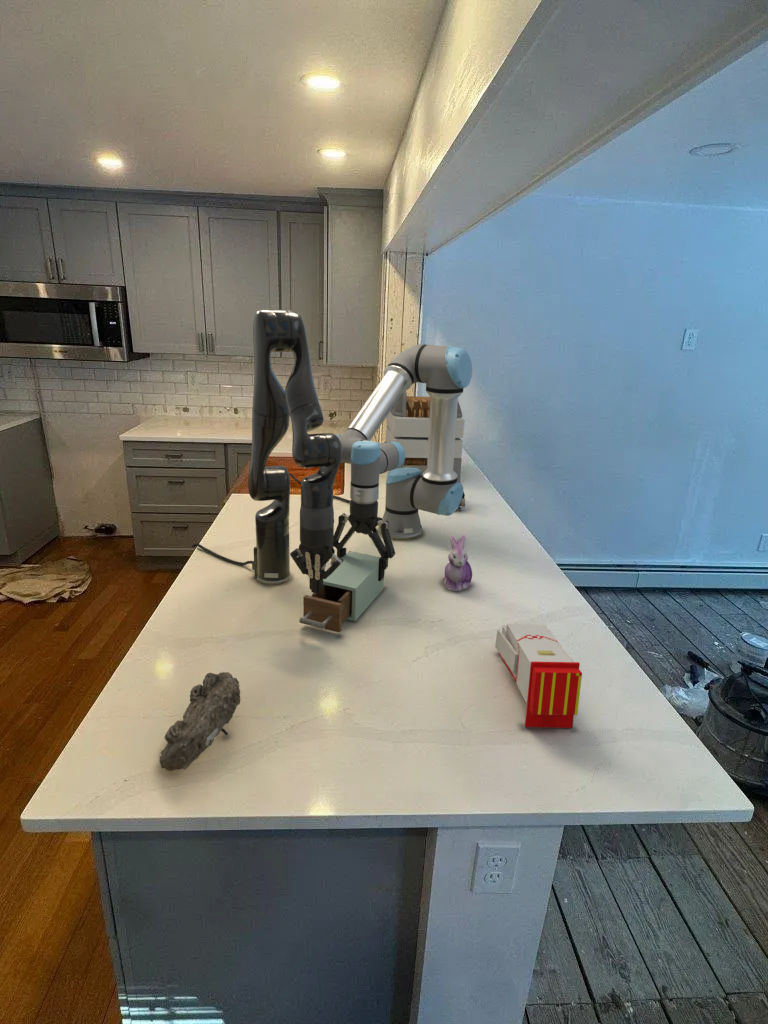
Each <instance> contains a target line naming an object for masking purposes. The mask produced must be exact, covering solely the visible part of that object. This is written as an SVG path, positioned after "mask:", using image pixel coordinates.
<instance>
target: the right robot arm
mask: <svg viewBox="0 0 768 1024" xmlns="http://www.w3.org/2000/svg"><path fill="white" fill-rule="evenodd" d="M472 363H473V362H472V359H471V356H470V355H469V352H468V351H467V350H466V349H465V348H462V347H458V346H453V345H436V344H426V343H425V344H424V343H419V344H415V345H412V346H409V347H407V348H406V349H404V350H403V351H400V352H399V353H398V354H397V355H396V356H394V358H392V359H391V361H390V362H389V363H388V364H387V366H386V367H385V368H384V370H383V376H382V379H381V380H380V381H379V382H378V384H377V386H376V387H375V388H374V390H372V392H371V394H370V395H369V397H368V399H367V400H366V401H365V402H364V404H363V405H362V407H361V408H360V409H359V411H358V413H357V414H356V415H355V417H354V418H353V420H352V421H351V422H350V424H349V425H348V426H347V428H346V429H345V431H344V432H343V433H342V434H336V435H337V436H338V438H339V439H340V441H341V444H342V458H341V462H340V464H341V463H342V464H349V465H350V487H349V488H350V489H349V490H350V491H349V498H350V500H349V499H347V498H345V497H342V496H341V497H340V496H338V495H335V494H333V499H336V500H340V501H342V502H345V503H348V504H349V515H348V514H346V513H345V512H344V513H342V514H340V515H339V516H338V520H337V521H338V523H337V525H336V528H335V531H334V539H333V548H334V549H336V556H337V557H338V558H342V557H343V556H344V555H345V554H347V547H345V546H346V544H347V543H348V541H349V540H351V538H352V536H353V535H354V533H355V532H356V534H363V535H367V536H368V537H369V539H371V541H372V543H373V544H374V546H375V548H376V550H377V552H378V554H379V555H380V556H379V557H380V558H379V571H378V581H381V580H382V579H383V578H384V579H385V575H384V571H385V572H386V570H387V569H388V567H389V559H392V558H394V556H395V555H396V550H395V547H394V544H393V540H395V541H410V540H415V539H418V538H420V537H421V536H422V535H423V525H422V524H421V518H420V515H419V510H420V511H423V512H426V513H431V514H435V515H437V516H445V517H450V516H452V515H453V514H454V513H456V511H457V509H458V506H459V504H460V502H461V499H462V496H463V491H464V485H463V484H462V483H461V481H460V482H457V474H456V473H455V472H454V471H453V465H454V450H455V435H456V420H457V405H458V402H459V397H460V396H461V395H462V394H463V393H464V389H466V388H467V387H468V386H469V385H470V383H471V379H472V376H473V364H472ZM416 383H420V384H425V392H426V393H427V394H428V395H429V397H430V416H429V437H428V458H427V466H426V469H425V470H424V471H422V470H421V468H419V467H412V466H411V467H408V466H407V467H404V468H398V469H396V468H397V467H399V466H401V465H402V464H403V462H404V460H405V451H404V448H403V447H402V445H401V444H399V443H398V442H394V441H392V442H386V441H385V442H386V443H384V442H381V441H380V442H379V441H374V440H372V439H373V437H374V436H375V434H376V433H377V431H378V430H379V429H380V427H381V425H383V423H384V422H385V421H386V417H387V415H388V414H389V412H390V411H391V409H392V408H393V406H394V405H395V403H396V402H397V400H398V399H399V397H400V396H401V394H402V393H403V391H405V390H406V391H408V390H410V388H411V387H412V386H413V385H414V384H416ZM390 470H391V471H390ZM385 473H387V475H386V480H385V504H384V505H385V507H384V508H385V509H384V513H383V515H382V517H380V516H378V513H379V501H378V500H379V493H380V492H379V491H380V475H382V474H385ZM289 475H290V478H292V479H293V480H294V481H295V482H297V483H298V484H300V485H301V482H302V481H301V480H299V479H297V478H296V477H295V476H294V475H293V474H292V473H289ZM347 522H349V524H350V525H351V526H350V528H349V529H348V531H347V532H346V533H345V535H344V536H343V537H342V539H341V536H342V534H343V531H344V529H345V527H346V524H347ZM377 527H378V528H377ZM380 535H381V536H380ZM381 537H382V538H381ZM340 539H341V540H340Z"/></svg>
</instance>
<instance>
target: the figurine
mask: <svg viewBox="0 0 768 1024" xmlns="http://www.w3.org/2000/svg"><path fill="white" fill-rule="evenodd" d="M449 539H450V540H449V541H450V551H449V553H448V561H449V562H448V563H447V564H446V565H445V566H444V577H443V585H444V586H445V588H446V589H447V590H449V591H452V592H461V591H463V590H464V591H465V590H467V589H468V588H469V587H470V586H471V582H472V580H473V569H472V567H471V565H470V563H469V561H468V559H469V556H468V553H467V550H466V548H465V544H466V535H465V534H463V535H462V536H461V537H460V538H459V540H458V541H457V540H456V538H455V536H453V535H451V536H450V537H449Z"/></svg>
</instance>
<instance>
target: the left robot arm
mask: <svg viewBox="0 0 768 1024" xmlns="http://www.w3.org/2000/svg"><path fill="white" fill-rule="evenodd" d="M252 326H253V329H252V333H253V334H252V337H253V338H252V340H253V365H254V367H253V369H254V370H253V371H254V372H253V373H254V375H253V396H252V407H251V410H252V411H251V451H250V459H249V467H248V478H247V489H248V494H249V497H250V498H251V500H253V501H254V502H265V501H271V503H270V504H268V505H267V506H264V507H263V508H260V509H259V510H258V511H256V513H255V517H254V518H255V519H254V521H255V522H254V523H255V544H256V545H255V546H254V547H253V560H247V561H244V562H241V561H236V560H233V559H230V558H228V557H225V556H222V555H220V554H218V553H216V552H214V551H213V550H211V549H208V548H206V547H205V546H203V545H202V544H200V543H198V542H197V543H196V542H195V543H193V544H192V545H191V547H192V548H195V547H198V548H200V549H202V550H203V551H204V552H207V553H208V554H211V555H212V556H214V557H216V558H219V559H221V560H223V561H226V562H228V563H231V564H234V565H238V566H246V565H251V569H252V570H253V571H254V572H253V573H254V574H253V575H254V579H255V580H256V579H257V581H258V582H259V583H261V584H263V585H270V586H275V585H276V586H277V585H282V584H285V583H286V582H288V581H289V580H290V579H291V560H290V558H292V560H293V562H294V563H295V565H296V566H297V568H298V570H299V571H300V572H301V574H302V575H306V576H308V579H309V581H308V585H309V586H308V587H309V590H310V592H311V594H313V593H317V594H318V593H319V592H320V591H321V590H322V589H323V579H326V578H327V577H328V576H330V575H331V574H332V573H333V572H334V571H335V570H336V569H337V568H338V567H339V566H340V565H341V564H342V563H343V559H342V558H338V557H337V554H336V552H335V551H336V550H335V547H333V539H334V534H335V531H334V530H335V529H334V528H335V510H334V498H333V495H334V485H335V482H336V479H337V474H338V470H339V467H340V465H341V458H342V444H341V441H340V439H339V438H338V436H337V435H338V434H335V433H333V432H323V433H309V432H312V431H314V430H317V429H318V428H320V427H321V426H322V425H323V423H324V421H325V416H324V413H323V409H322V406H321V402H320V399H319V395H318V393H317V390H316V385H315V382H314V375H313V369H312V361H311V356H310V355H311V353H310V348H309V342H308V336H307V330H306V326H305V322H304V319H303V317H302V315H301V313H299V311H297V310H294V309H259V310H257V311H256V313H255V315H254V319H253V325H252ZM290 352H291V353H292V355H293V359H294V360H293V361H294V362H293V366H292V369H291V372H290V374H289V376H288V379H287V381H286V385H285V389H284V387H283V385H282V384H281V382H280V380H279V379H278V377H277V376H276V374H275V372H274V369H273V367H272V362H271V355H272V353H290ZM290 421H291V429H292V431H291V432H292V442H291V443H292V444H291V454H292V455H291V456H292V459H293V461H294V463H295V464H296V465H297V467H300V468H302V469H312V468H318V470H317V471H316V472H315V473H312V474H310V475H308V476H305V477H303V478H302V480H301V481H300V482H301V484H300V508H299V542H300V543H299V545H298V547H297V548H295V549H294V550H292V551H290V504H291V503H290V501H291V500H290V499H291V476H290V475H289V474H290V472H289V470H288V468H287V467H286V466H285V465H269V466H268V465H267V462H268V459H269V457H270V455H272V453H273V451H274V449H276V447H277V446H278V445H279V443H280V442H281V441H282V439H283V438H284V437H285V436H286V434H287V432H288V429H289V428H290ZM329 561H330V567H328V569H326V567H327V563H328V562H329Z"/></svg>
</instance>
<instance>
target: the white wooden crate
mask: <svg viewBox="0 0 768 1024" xmlns="http://www.w3.org/2000/svg"><path fill="white" fill-rule="evenodd" d="M407 394H408V393H407V390H405V391H403V393H402V394H401V396H400V397H399V399H398V400H397V402H396V403H395V405H394V406H393V408H392V409H391V411H390V412H389V414H388V415H387V417H386V418H385V423H386V428H385V438H384V442H383V443H386V442H392V441H394V442H398V443H399V444H401V445H402V447H403V448H404V451H405V460H404V462H403V464H402V465H401V466H399V467H397V468H396V469H398V468H405V466H406V467H408V466H411V467H415V466H416V467H417V466H418V467H427V458H428V437H429V416H430V396H415V395H414V396H413V395H412V396H411V395H407ZM464 429H465V419H464V418H463V411H462V408H461V405H460V402H459V401H458V405H457V420H456V435H455V450H454V465H453V471H454V472H455V473H456V474H457V482H460V483H461V472H462V461H463V460H462V453H463V442H464V441H463V440H462V439H463V438H464V431H465V430H464ZM390 471H391V470H390ZM390 471H389V472H390Z"/></svg>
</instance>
